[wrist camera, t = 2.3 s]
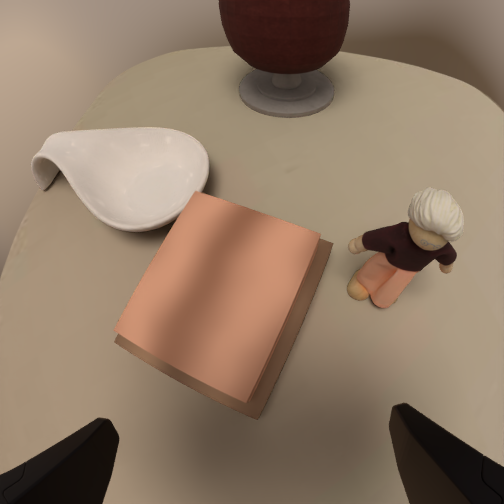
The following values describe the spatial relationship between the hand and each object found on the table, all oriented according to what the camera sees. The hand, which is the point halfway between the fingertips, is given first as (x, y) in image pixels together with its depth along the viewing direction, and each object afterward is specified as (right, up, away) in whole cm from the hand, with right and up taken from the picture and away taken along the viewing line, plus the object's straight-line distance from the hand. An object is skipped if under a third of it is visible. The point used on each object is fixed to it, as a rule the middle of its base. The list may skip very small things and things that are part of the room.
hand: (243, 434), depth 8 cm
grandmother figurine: (+11, +2, +16) cm, 19 cm away
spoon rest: (-15, +12, +23) cm, 30 cm away
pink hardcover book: (-2, +1, +16) cm, 16 cm away
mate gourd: (+6, +26, +28) cm, 39 cm away
